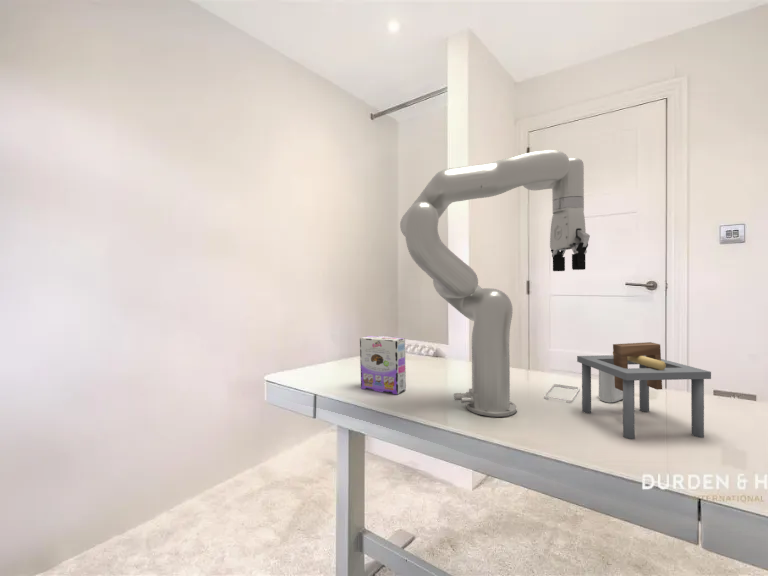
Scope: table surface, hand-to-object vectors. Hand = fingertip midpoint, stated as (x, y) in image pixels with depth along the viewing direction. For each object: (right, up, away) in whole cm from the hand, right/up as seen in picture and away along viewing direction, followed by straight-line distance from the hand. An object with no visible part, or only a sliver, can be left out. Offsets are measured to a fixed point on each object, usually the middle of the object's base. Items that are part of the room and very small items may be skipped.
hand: (568, 270), depth 95 cm
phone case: (+3, -37, +9) cm, 38 cm away
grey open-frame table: (+10, -36, -12) cm, 40 cm away
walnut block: (+10, -28, -12) cm, 32 cm away
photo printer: (+15, -36, +5) cm, 40 cm away
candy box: (-50, -37, +16) cm, 64 cm away
